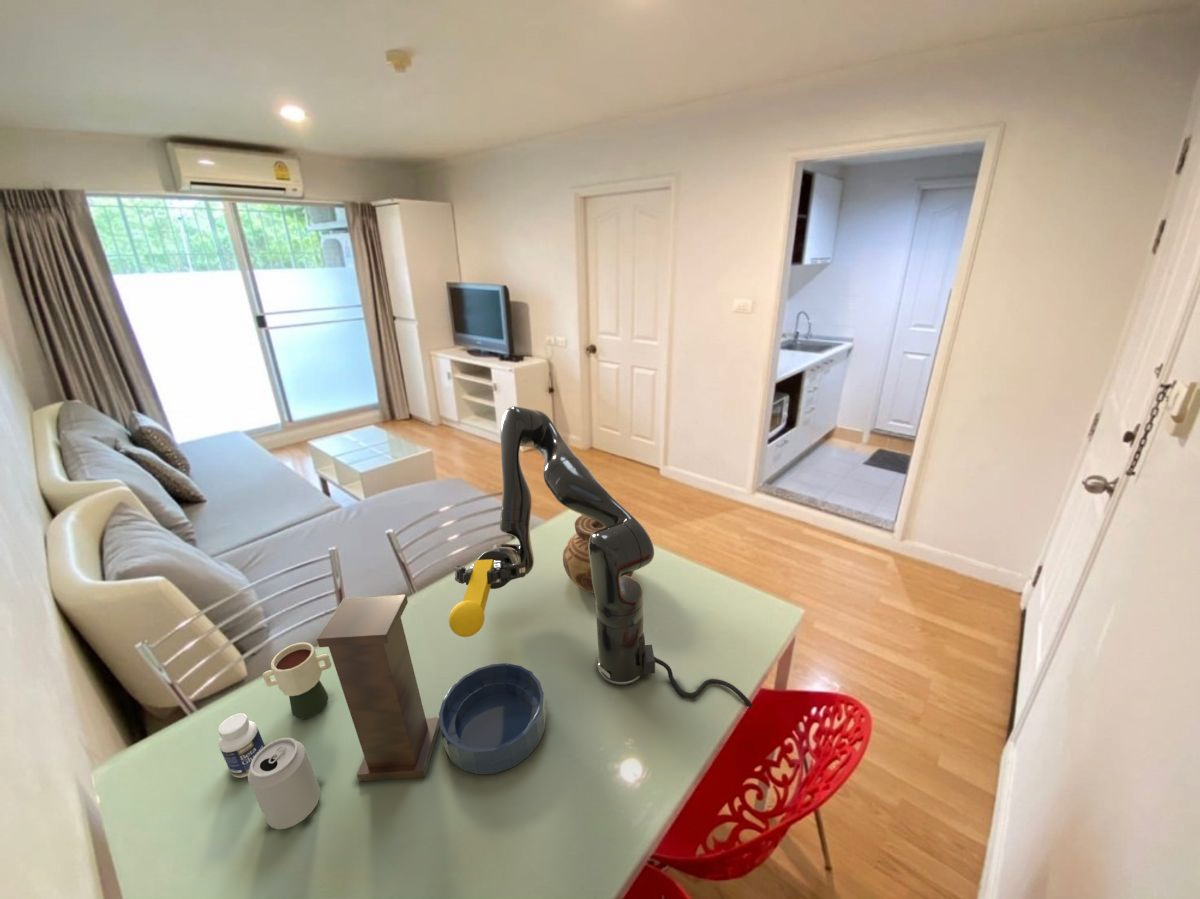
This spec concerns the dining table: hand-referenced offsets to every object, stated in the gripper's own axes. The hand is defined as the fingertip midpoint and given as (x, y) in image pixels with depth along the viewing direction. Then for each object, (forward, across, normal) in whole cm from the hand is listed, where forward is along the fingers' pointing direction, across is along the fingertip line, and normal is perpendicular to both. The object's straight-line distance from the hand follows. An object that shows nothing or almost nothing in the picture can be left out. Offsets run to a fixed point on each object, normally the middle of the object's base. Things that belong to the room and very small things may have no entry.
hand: (478, 578), depth 83 cm
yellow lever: (+2, 0, +4) cm, 4 cm away
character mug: (-17, -37, +25) cm, 48 cm away
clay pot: (-46, +21, +8) cm, 52 cm away
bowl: (-11, 0, +28) cm, 30 cm away
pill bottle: (-7, -42, +30) cm, 52 cm away
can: (0, -30, +34) cm, 46 cm away
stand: (-8, -16, +30) cm, 35 cm away
